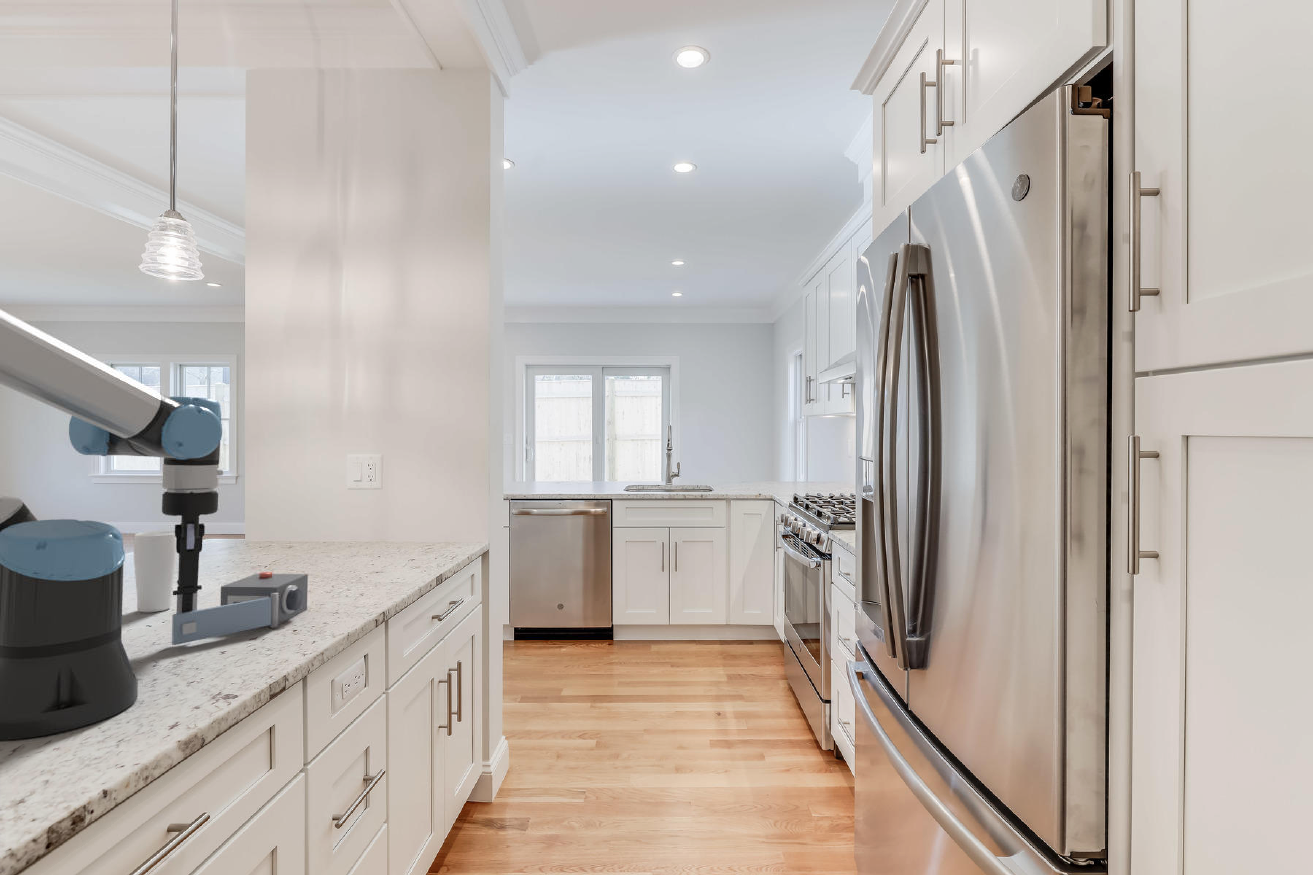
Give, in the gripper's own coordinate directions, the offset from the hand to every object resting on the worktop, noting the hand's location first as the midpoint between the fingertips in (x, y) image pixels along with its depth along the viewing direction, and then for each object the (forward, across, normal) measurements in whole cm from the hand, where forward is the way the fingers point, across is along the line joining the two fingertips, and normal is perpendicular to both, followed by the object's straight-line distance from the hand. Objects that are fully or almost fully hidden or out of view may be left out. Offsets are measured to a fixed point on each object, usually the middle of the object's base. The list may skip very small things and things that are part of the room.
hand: (185, 631), depth 106 cm
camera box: (+2, +10, -12) cm, 16 cm away
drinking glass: (+2, +27, +4) cm, 27 cm away
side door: (+2, -1, -6) cm, 6 cm away
